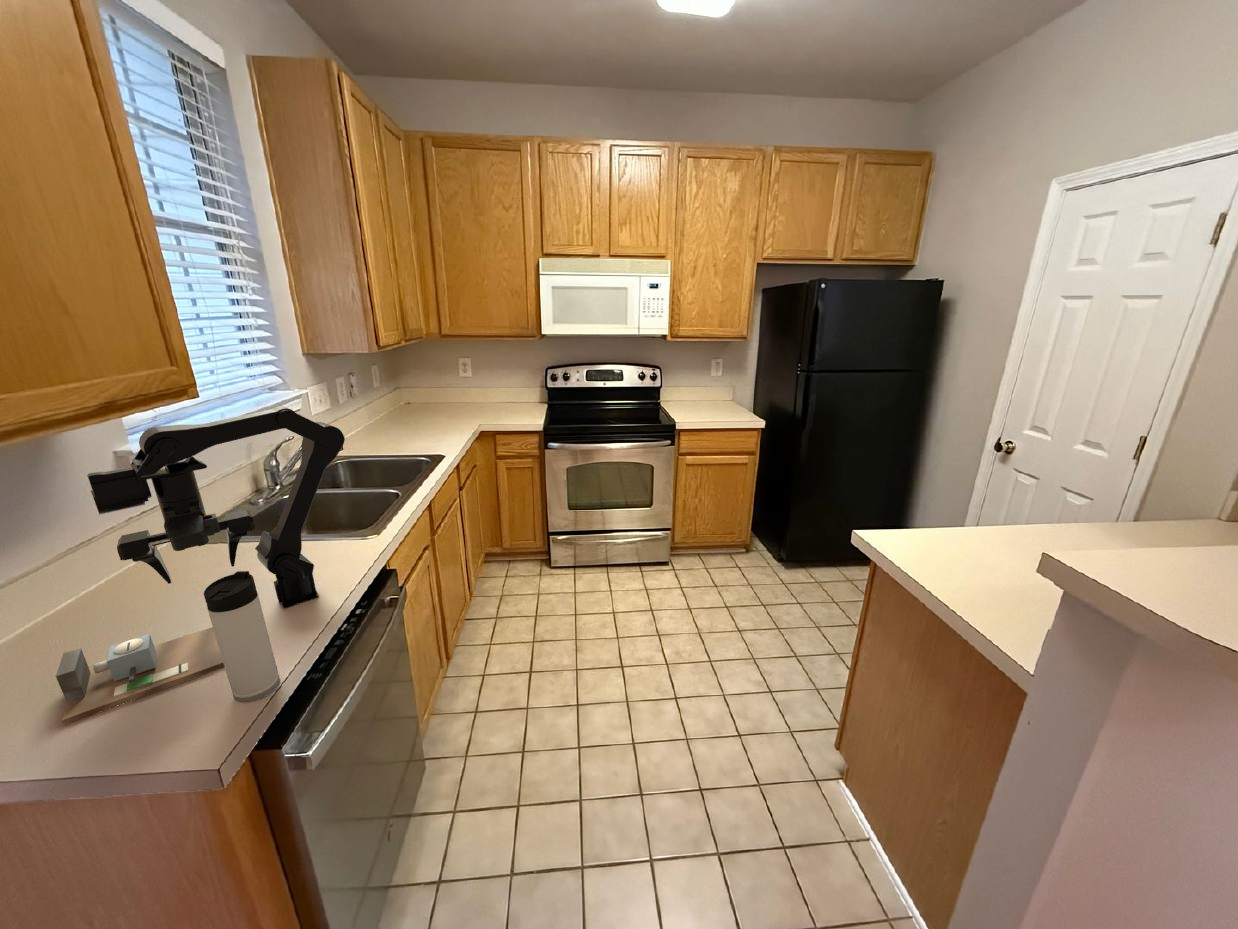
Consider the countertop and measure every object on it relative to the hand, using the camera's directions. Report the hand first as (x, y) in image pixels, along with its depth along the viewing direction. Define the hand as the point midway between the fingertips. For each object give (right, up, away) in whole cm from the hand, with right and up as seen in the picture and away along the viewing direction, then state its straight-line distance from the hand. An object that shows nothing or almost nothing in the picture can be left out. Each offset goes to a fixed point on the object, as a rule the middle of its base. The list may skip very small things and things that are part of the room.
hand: (202, 574), depth 93 cm
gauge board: (-1, -15, -7) cm, 16 cm away
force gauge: (-3, -14, -11) cm, 18 cm away
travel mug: (+19, -16, -12) cm, 28 cm away
